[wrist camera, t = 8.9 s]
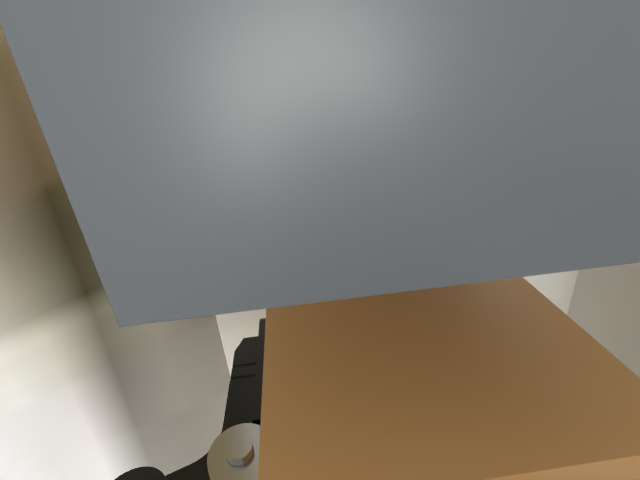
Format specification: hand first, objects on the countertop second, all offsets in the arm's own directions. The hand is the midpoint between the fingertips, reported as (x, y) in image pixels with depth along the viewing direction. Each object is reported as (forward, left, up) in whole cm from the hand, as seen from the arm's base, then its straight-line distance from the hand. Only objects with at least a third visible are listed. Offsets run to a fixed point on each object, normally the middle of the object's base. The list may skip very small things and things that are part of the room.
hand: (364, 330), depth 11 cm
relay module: (0, 0, -1) cm, 1 cm away
